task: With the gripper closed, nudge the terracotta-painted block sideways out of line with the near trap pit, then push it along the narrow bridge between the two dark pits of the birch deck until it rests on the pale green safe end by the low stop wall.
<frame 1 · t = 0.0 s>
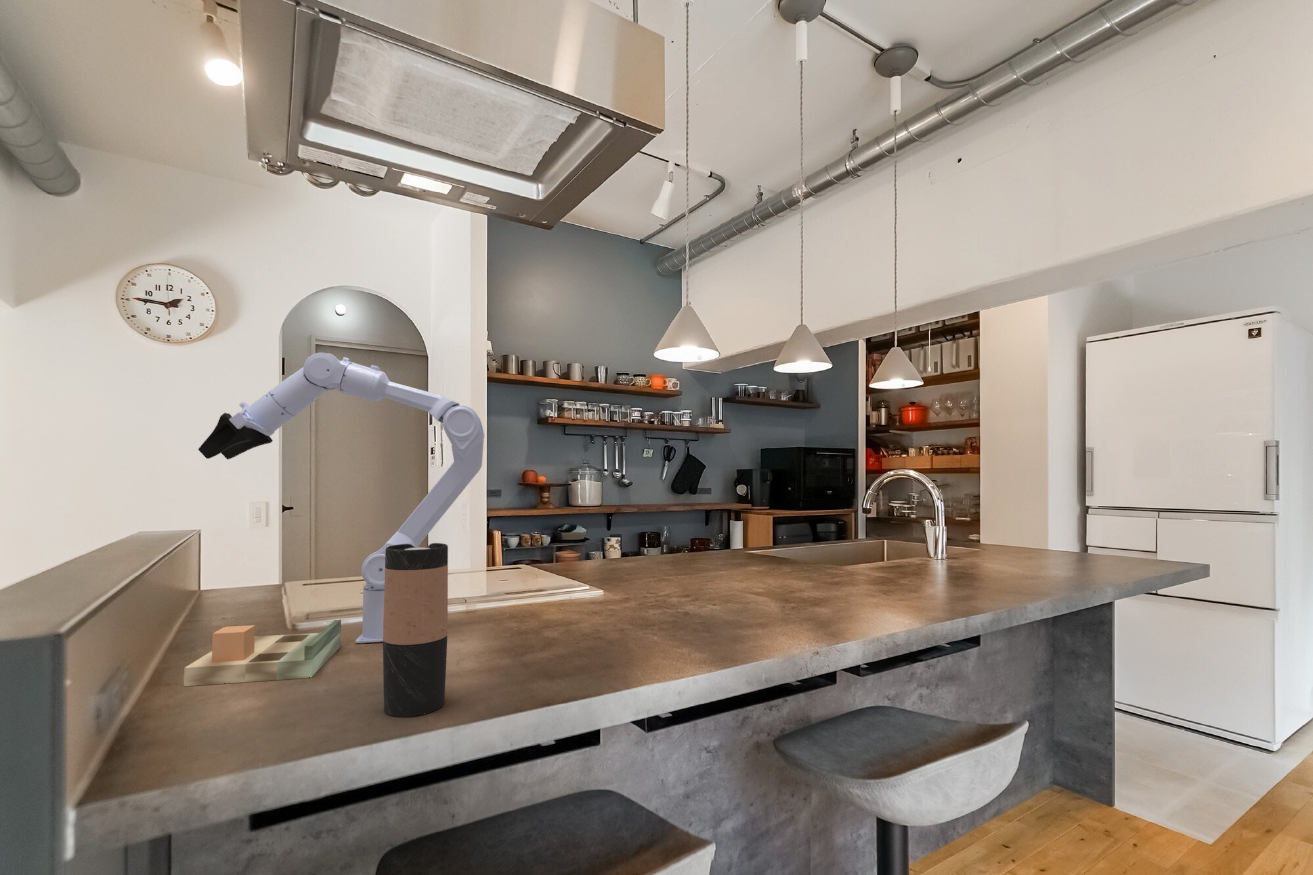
hand: (213, 454, 108), 32 cm above the counter, tool tilted 50°, fingers open, 7 cm apart
block: (233, 657, 92), point 2 cm above the counter, touching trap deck
travel mug: (414, 707, 80), on the counter
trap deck: (269, 664, 97), on the counter
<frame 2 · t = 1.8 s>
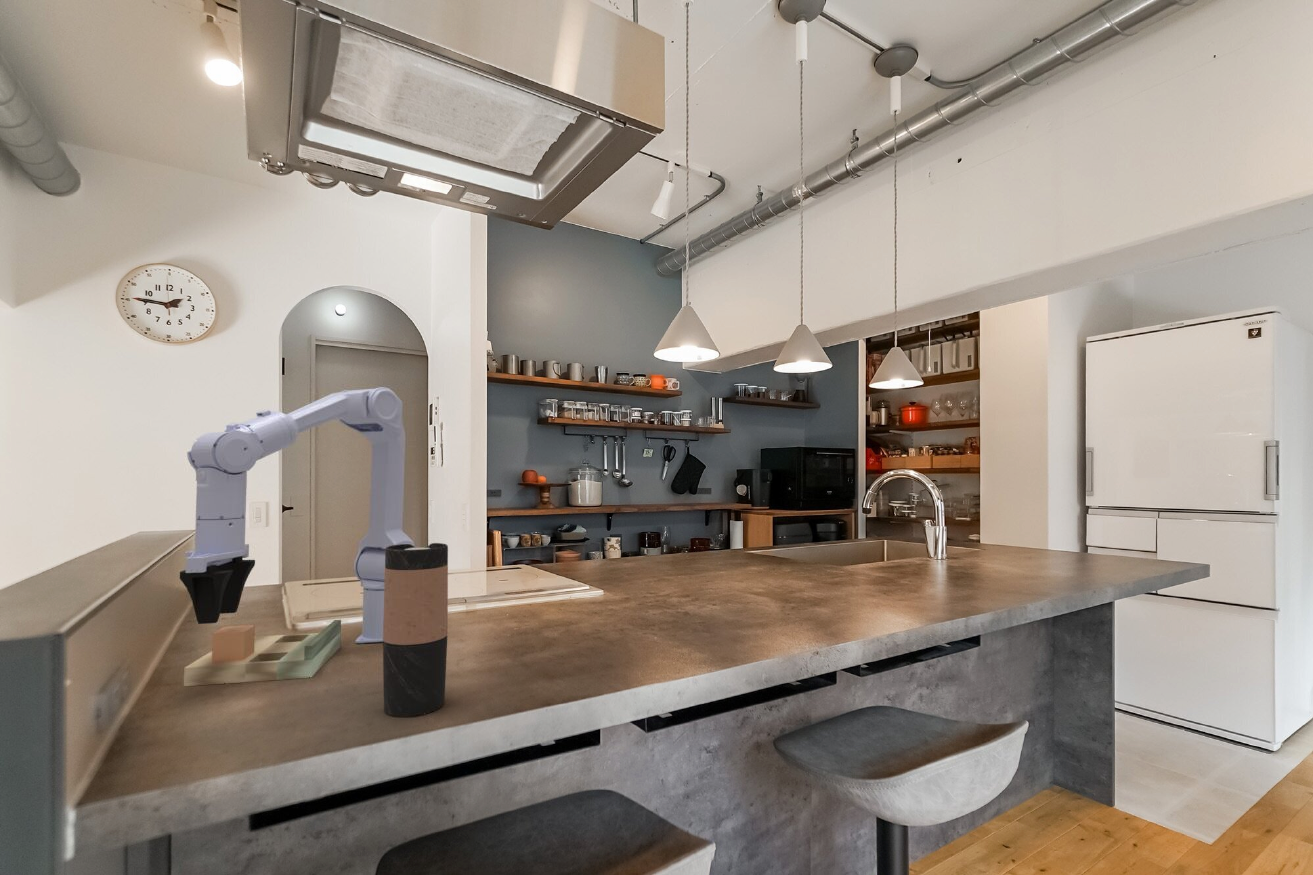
hand: (218, 617, 87), 9 cm above the counter, tool pointing down, fingers open, 5 cm apart
nothing on the counter moved.
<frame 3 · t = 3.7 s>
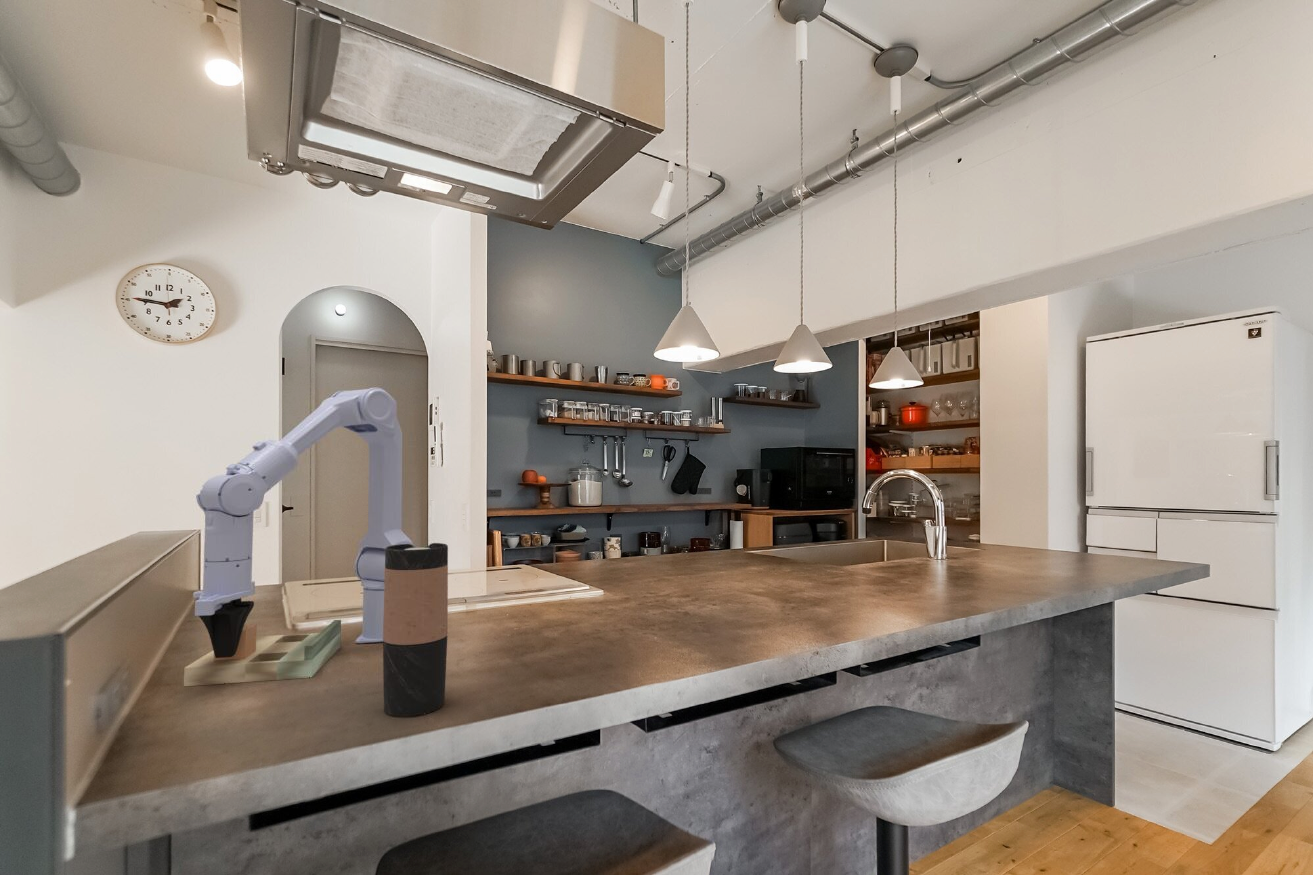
hand: (225, 656, 90), 3 cm above the counter, tool pointing down, fingers closed
block: (235, 655, 93), point 3 cm above the counter, touching gripper, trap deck
everything else where it was.
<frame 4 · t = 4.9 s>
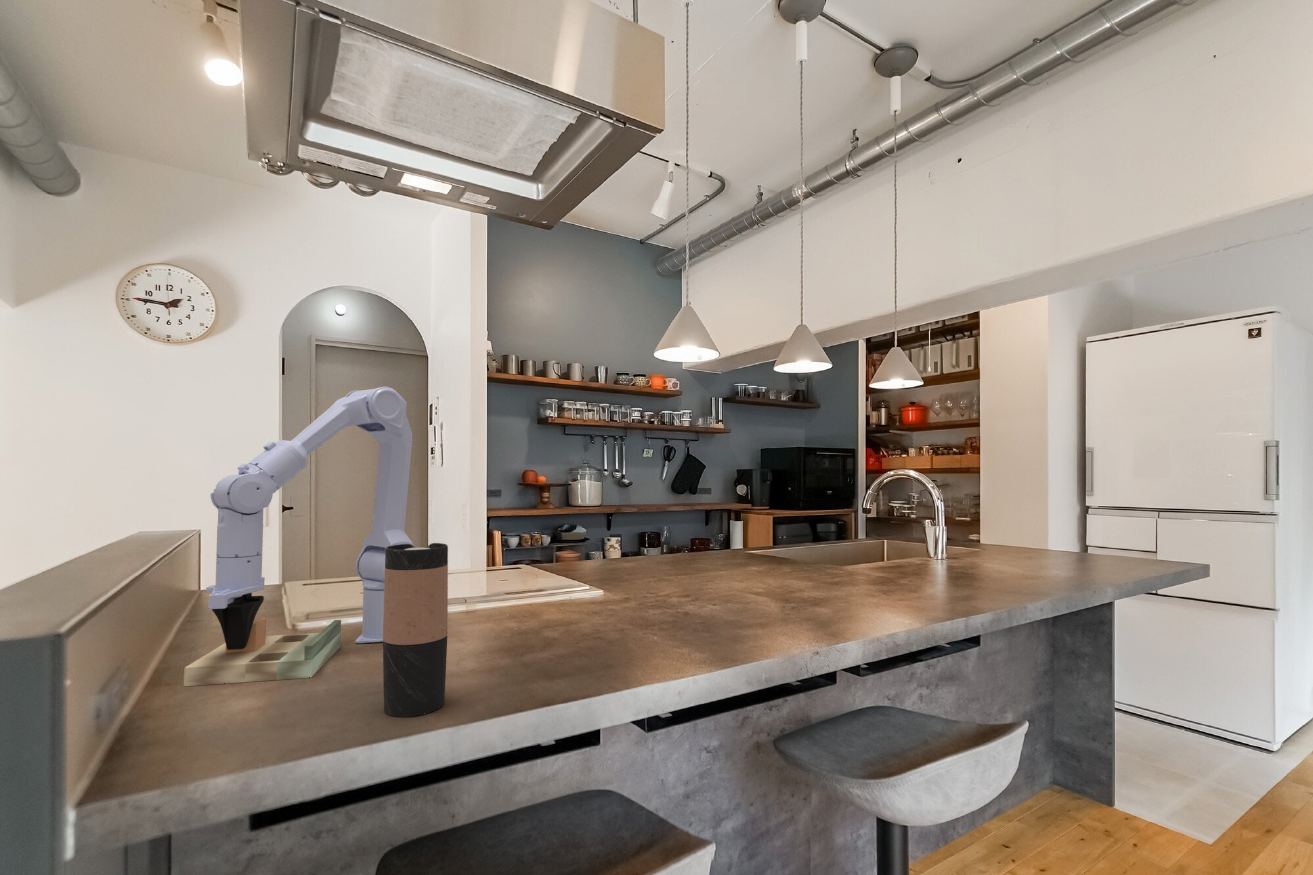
hand: (236, 648, 93), 3 cm above the counter, tool pointing down, fingers closed
block: (245, 648, 97), point 3 cm above the counter, touching gripper, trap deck
everything else where it was.
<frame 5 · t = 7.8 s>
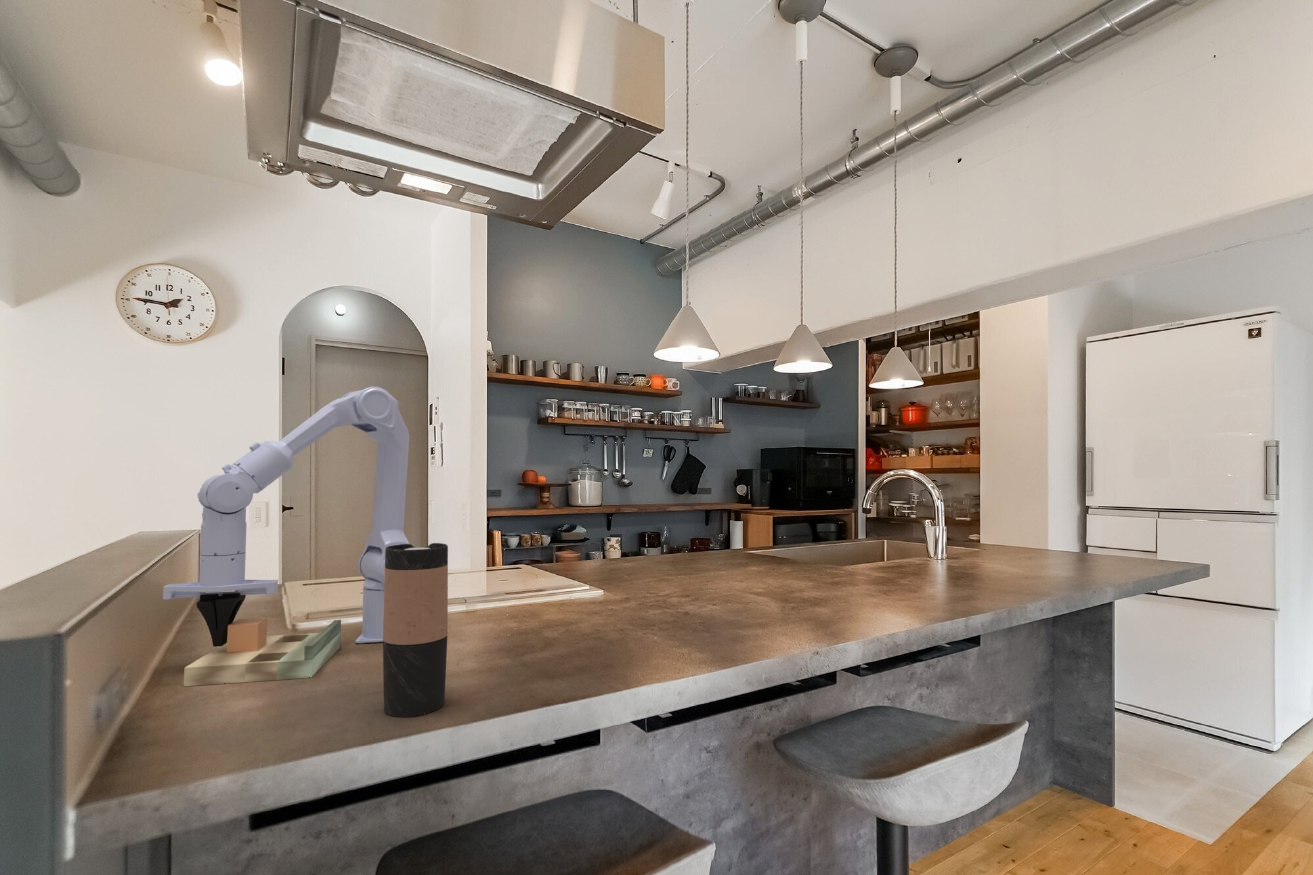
hand: (220, 644, 95), 3 cm above the counter, tool pointing down, fingers closed
block: (246, 648, 97), point 3 cm above the counter, touching gripper
everything else where it was.
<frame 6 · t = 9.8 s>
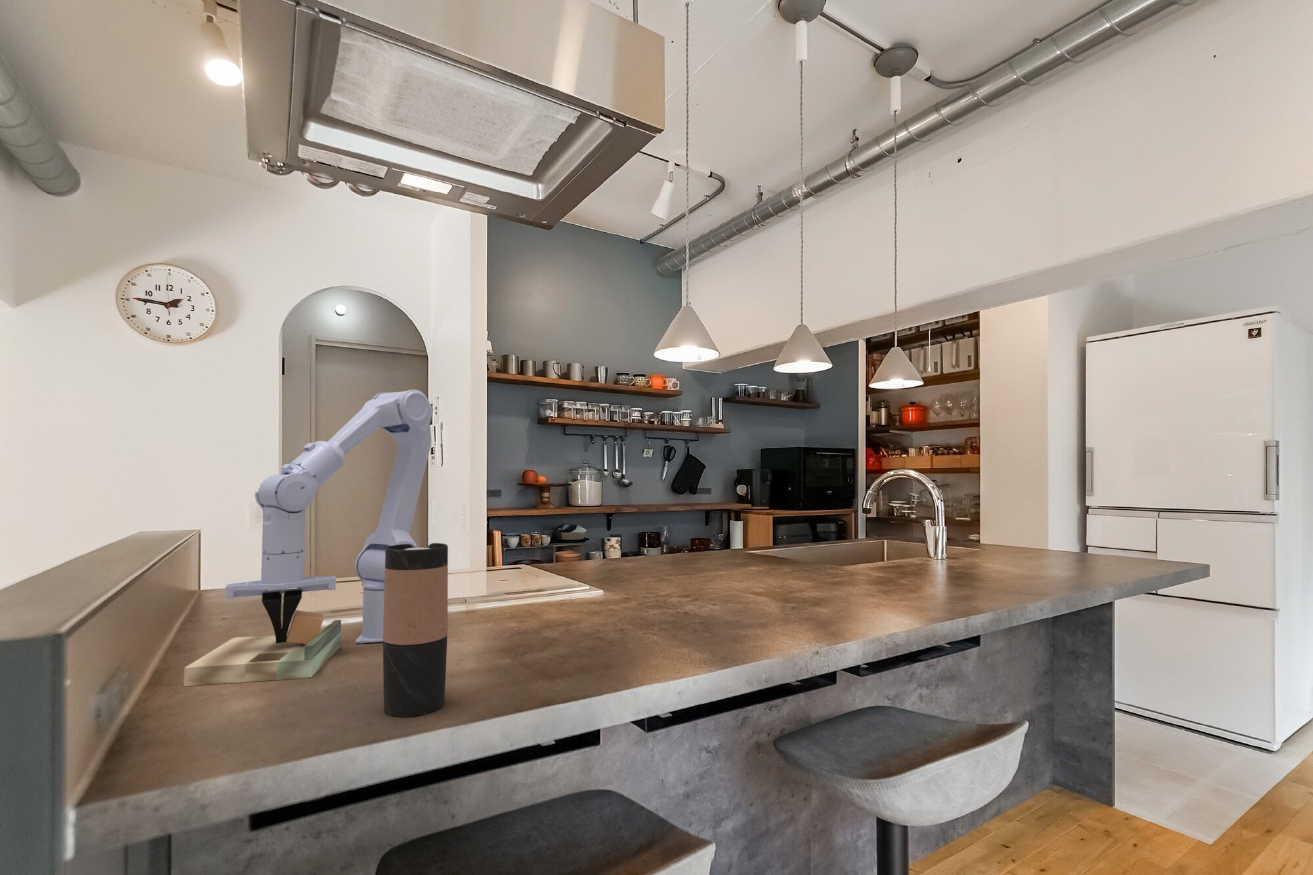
hand: (281, 641, 97), 3 cm above the counter, tool pointing down, fingers closed
block: (301, 640, 99), point 3 cm above the counter, tilted 15°, touching gripper, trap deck
everything else where it was.
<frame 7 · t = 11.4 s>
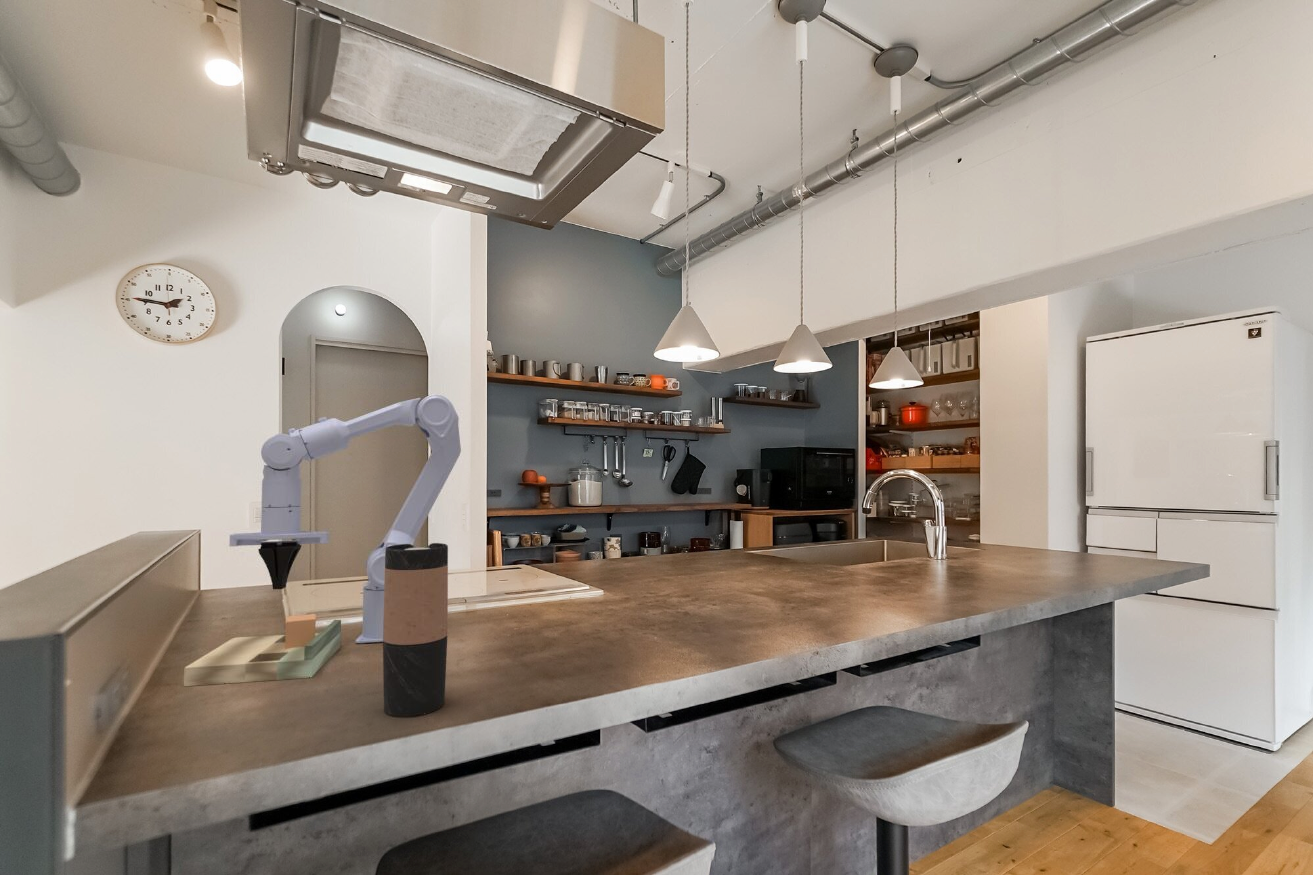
hand: (279, 588, 106), 10 cm above the counter, tool pointing down, fingers closed
block: (300, 643, 99), point 2 cm above the counter, touching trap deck
everything else where it was.
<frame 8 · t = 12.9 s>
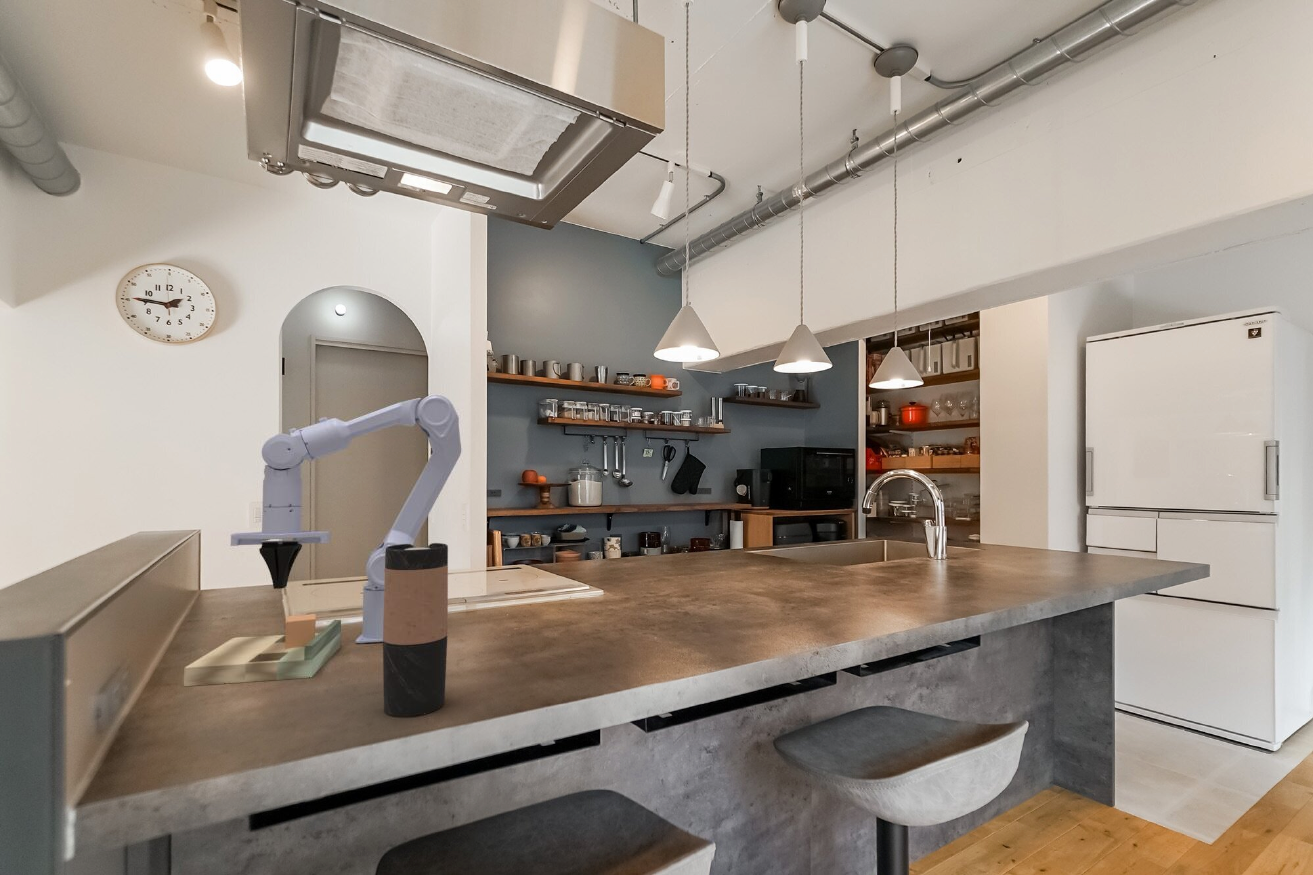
hand: (280, 587, 107), 10 cm above the counter, tool pointing down, fingers closed
nothing on the counter moved.
at the end: block 1.8 cm from the target spot on the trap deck, point 2.5 cm above the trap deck's base; block tilted 0° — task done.
